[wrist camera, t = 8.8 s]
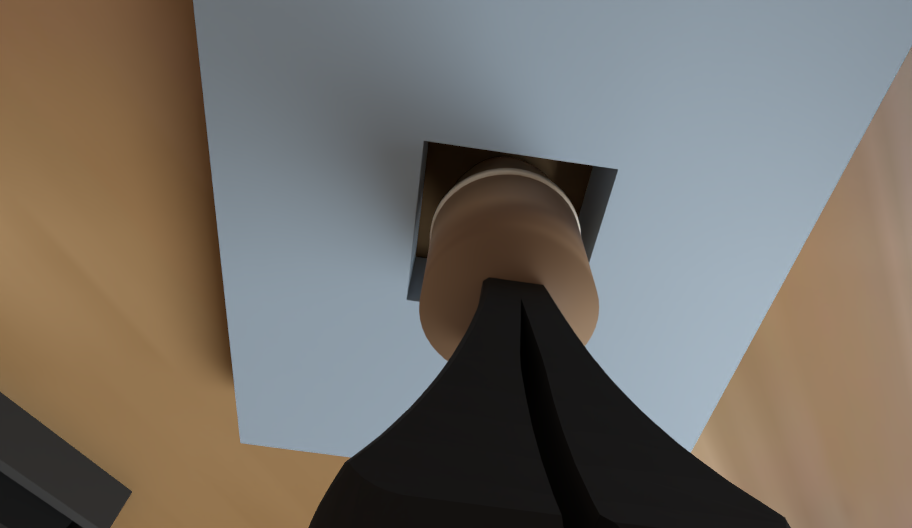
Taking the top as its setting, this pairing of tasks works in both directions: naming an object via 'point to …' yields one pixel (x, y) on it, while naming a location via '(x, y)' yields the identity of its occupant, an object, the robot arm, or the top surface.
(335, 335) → the socket board
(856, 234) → the top surface
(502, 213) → the walnut peg
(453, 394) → the robot arm
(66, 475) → the computer keyboard
